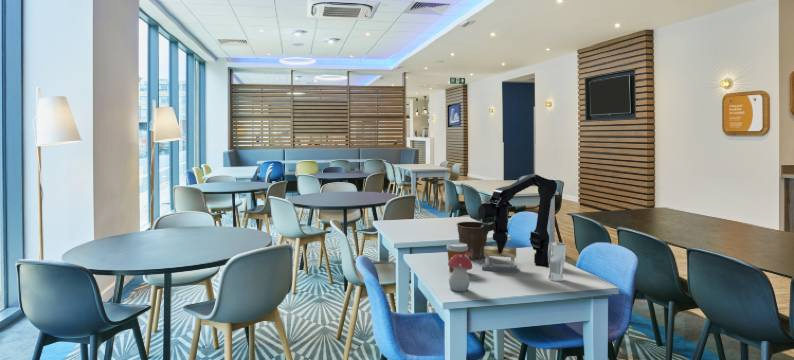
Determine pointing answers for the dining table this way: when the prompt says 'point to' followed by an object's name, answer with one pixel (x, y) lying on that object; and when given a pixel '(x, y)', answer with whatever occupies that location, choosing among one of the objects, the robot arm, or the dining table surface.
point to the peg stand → (499, 266)
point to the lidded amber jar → (456, 250)
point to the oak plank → (494, 252)
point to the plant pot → (473, 238)
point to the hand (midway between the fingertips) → (500, 252)
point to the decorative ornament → (460, 272)
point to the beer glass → (556, 260)
